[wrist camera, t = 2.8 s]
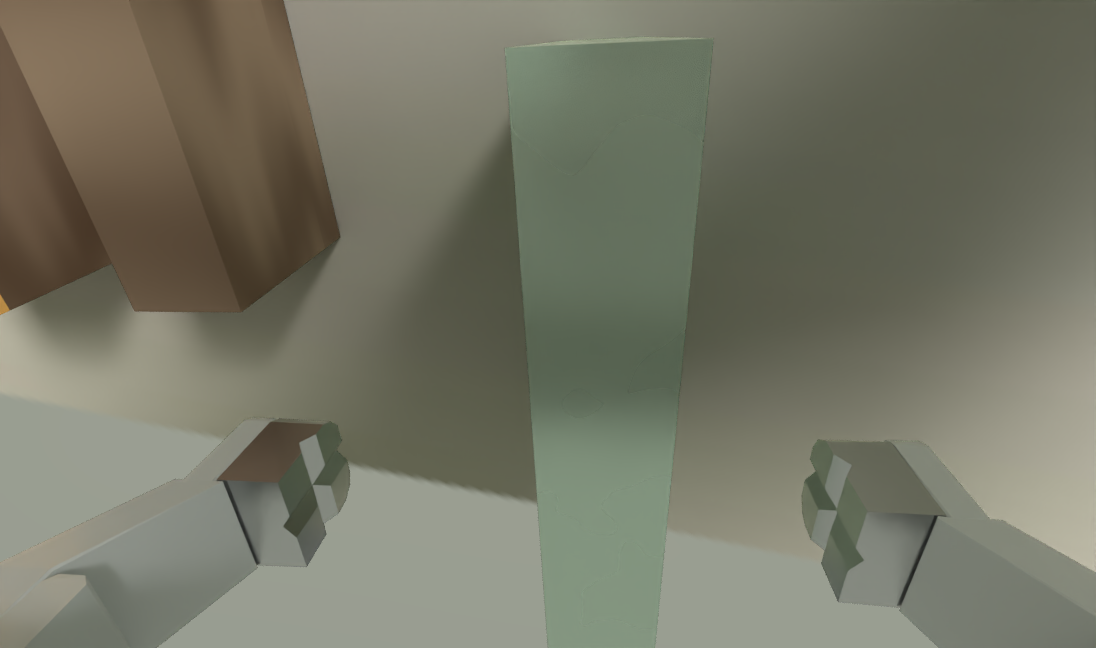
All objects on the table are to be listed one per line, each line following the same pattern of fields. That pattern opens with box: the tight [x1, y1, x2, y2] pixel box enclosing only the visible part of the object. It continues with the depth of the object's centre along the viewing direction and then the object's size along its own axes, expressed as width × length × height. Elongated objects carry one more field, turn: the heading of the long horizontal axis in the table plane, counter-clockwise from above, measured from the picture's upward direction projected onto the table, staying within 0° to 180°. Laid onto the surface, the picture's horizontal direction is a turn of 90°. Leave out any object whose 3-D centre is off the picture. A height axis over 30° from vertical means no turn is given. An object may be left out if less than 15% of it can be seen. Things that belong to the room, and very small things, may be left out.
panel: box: [505, 37, 714, 648], centre depth 12 cm, size 12×2×9 cm, turn 2°
